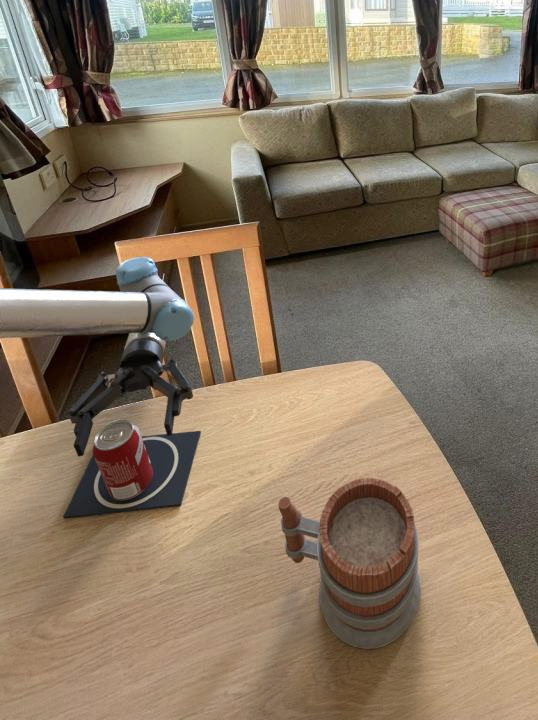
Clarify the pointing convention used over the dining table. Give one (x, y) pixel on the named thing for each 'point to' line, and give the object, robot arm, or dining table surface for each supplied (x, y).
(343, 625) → the mug
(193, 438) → the mat
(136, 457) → the soda can
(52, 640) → the dining table surface
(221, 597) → the dining table surface
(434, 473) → the dining table surface
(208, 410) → the dining table surface
